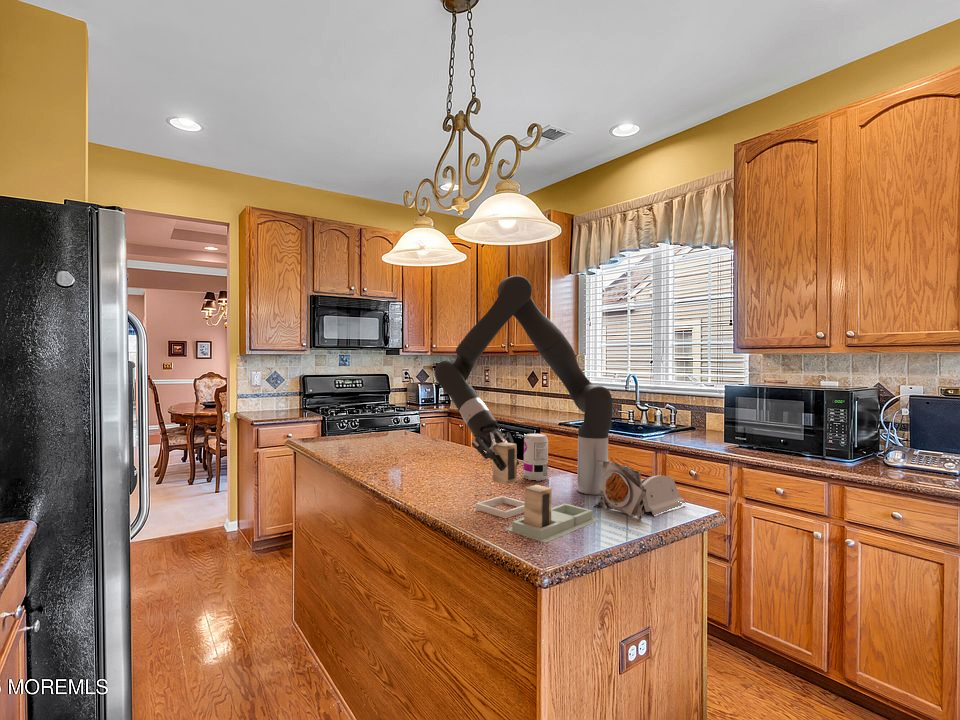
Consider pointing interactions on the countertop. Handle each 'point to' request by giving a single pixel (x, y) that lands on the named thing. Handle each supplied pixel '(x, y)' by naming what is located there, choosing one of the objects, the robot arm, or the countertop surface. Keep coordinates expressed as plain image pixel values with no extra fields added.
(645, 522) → the countertop surface
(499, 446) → the block
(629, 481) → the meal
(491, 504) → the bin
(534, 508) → the block
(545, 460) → the supplement can
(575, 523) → the green slotted tray
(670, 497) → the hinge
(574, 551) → the countertop surface
